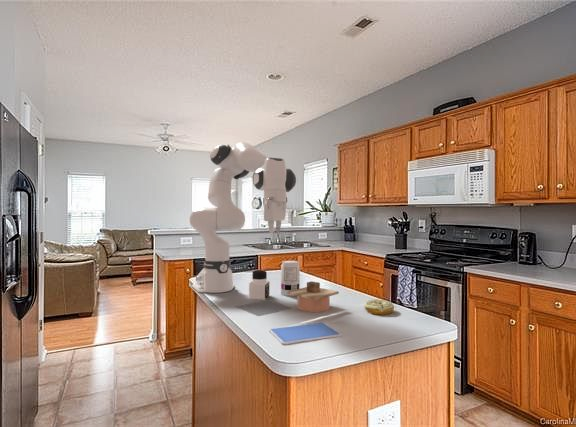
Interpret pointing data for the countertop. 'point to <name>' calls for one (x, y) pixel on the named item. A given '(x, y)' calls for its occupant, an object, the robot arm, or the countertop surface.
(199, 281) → the robot arm
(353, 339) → the countertop surface
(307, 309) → the bowl
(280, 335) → the tablet computer
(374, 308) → the decorated donut
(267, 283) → the medicine bottle
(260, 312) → the mat
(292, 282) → the supplement can
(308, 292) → the lid
